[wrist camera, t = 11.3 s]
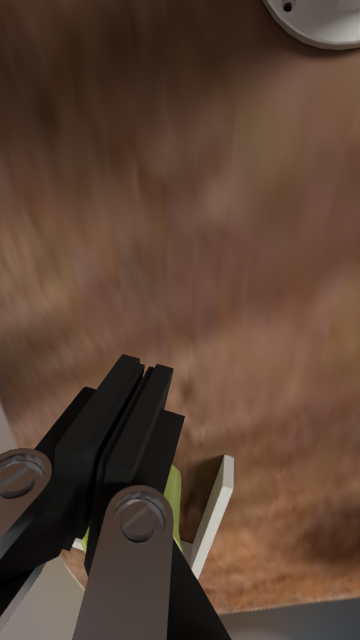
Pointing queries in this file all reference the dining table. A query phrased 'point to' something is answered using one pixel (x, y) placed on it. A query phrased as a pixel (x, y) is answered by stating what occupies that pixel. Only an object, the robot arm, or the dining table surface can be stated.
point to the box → (206, 518)
